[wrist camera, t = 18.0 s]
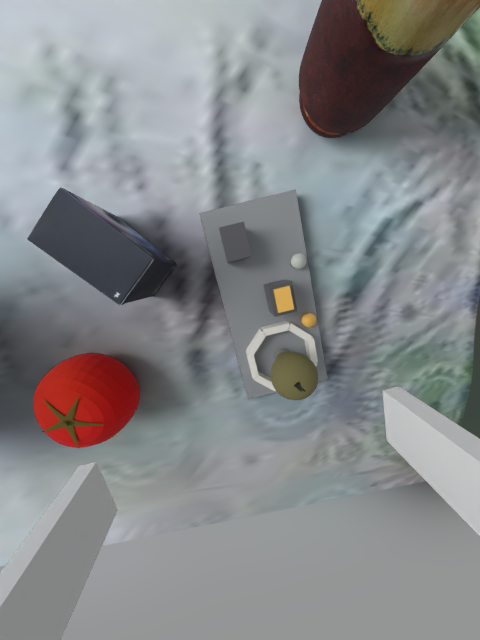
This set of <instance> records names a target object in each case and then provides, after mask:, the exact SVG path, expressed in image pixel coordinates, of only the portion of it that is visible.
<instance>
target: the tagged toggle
mask: <svg viewBox="0 0 480 640" xmlns="http://www.w3.org/2000/svg"><path fill="white" fill-rule="evenodd" d="M264 289H265V294H266V299H267V303H268V308H269V312H270V313H271V314H272V315H273V316H274V317H277V316H281V315H285V314H289V313H293V312H297V306H296V300H295V295H294V290H293V284H292V281H291V280H280V281H276V282H272V283H268V284H264Z"/></svg>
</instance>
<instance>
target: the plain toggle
mask: <svg viewBox="0 0 480 640" xmlns="http://www.w3.org/2000/svg"><path fill="white" fill-rule="evenodd" d="M219 231H220V235H221V239H222V243H223V247H224V251H225V256H226V260H227V263H231V262H235V261H239V260H243V259H247V258H250V257H251V256H252V255H251V251H250V246H249V242H248V237H247V233H246V228H245V224H244V221H243V222H239V223H235V224H231V225H227V226H223V227H219Z"/></svg>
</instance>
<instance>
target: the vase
mask: <svg viewBox="0 0 480 640" xmlns="http://www.w3.org/2000/svg"><path fill="white" fill-rule="evenodd" d="M479 8H480V0H322V2H321V4H320V7H319V10H318V13H317V16H316V19H315V22H314V25H313V28H312V31H311V34H310V36H309V39H308V43H307V46H306V49H305V52H304V55H303V59H302V62H301V66H300V72H299V90H300V95H299V102H300V109H301V113H302V116H303V118H304V120H305V122H306V124H307V125H308V126H309V127H310V129H311V130H313V131H314V132H315V133H317V134H318V135H320V136H323V137H328V138H335V137H340V136H342V135H345V134H347V133H349V132H353V131H356V130H358V129H360V128H362V127H363V126H365V125H366V124H367V123H369V122H370V121H371V120H372V119H373V118H374V117H375V116H376V115H377V114H378V113H379V112H380V111H381V110H382V109H383V108H384V107H385V106H386V105H387V104H388V103H389V102H390V101H391V100H392V99H393V98H394V97H395V96H396V95H397V93H398V92H399V91H400V90H401V89H402V88H403V87H404V86H405V85H406V84H407V83H408V82H409V81H410V80H411V79H412V78H413V77H414V76H415V75H416V74H417V73H418V72H419V71H420V69H421V68H422V67H423V66H424V65H425V64H426V63H427V62H428V61H429V60H430V59H431V58H432V57H433V56H434V55H435V54H436V53H437V52H438V51H439V50H440V49H441V48H442V46H443V45H444V44H445V43H446V42H447V41H448V40H449V39H450V38H451V37H452V36H453V35H454V34H455V33H456V32H457V31H458V30H459V29H460V28H461V27H462V25H463V24H464V23H465V22H466V21H467V20H468V19H469V18H470V17H471V16H472V15H473V14H474V13H475V12H476V11H477V10H478V9H479Z"/></svg>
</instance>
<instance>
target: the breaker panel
mask: <svg viewBox="0 0 480 640" xmlns="http://www.w3.org/2000/svg"><path fill="white" fill-rule="evenodd" d="M199 214H200V218H201V222H202V226H203V229H204V233H205V237H206V241H207V245H208V248H209V252H210V256H211V260H212V264H213V267H214V271H215V275H216V279H217V283H218V287H219V290H220V294H221V298H222V302H223V306H224V309H225V313H226V317H227V321H228V325H229V329H230V332H231V336H232V340H233V344H234V348H235V351H236V355H237V359H238V363H239V367H240V370H241V374H242V378H243V382H244V386H245V390H246V393H247V397H248V399H251V398H255V397H259V396H263V395H267V394H271V393H275V392H277V391H276V390H275V388H274V387H273V385H272V382H271V377H270V372H271V367H272V365H273V363H274V361H275V360H274V352H275V351H276V350H277V349H280V348H285V349H287V350H288V351H289V352H298V353H301V354H303V355H305V356H307V357H308V358H309V359H310V360H311V361H312V362H313V363H314V365H315V367H316V369H317V372H318V382H319V381H323V380H328V379H327V373H326V367H325V361H324V355H323V349H322V343H321V337H320V331H319V325H318V319H317V313H316V307H315V301H314V295H313V289H312V283H311V277H310V271H309V265H308V260H307V254H306V248H305V242H304V236H303V230H302V224H301V218H300V212H299V206H298V200H297V194H296V190H292V191H288V192H284V193H280V194H276V195H272V196H268V197H264V198H259V199H255V200H251V201H247V202H243V203H239V204H235V205H231V206H227V207H223V208H219V209H215V210H211V211H207V212H203V213H199ZM243 221H244V224H245V228H246V233H247V237H248V242H249V246H250V251H251V255H252V256H251V257H250V258H247V259H243V260H239V261H235V262H231V263H227V260H226V256H225V251H224V247H223V243H222V239H221V235H220V231H219V227H223V226H227V225H231V224H235V223H239V222H243ZM280 280H291V281H292V284H293V290H294V295H295V300H296V306H297V312H293V313H289V314H285V315H281V316H277V317H274V316H273V315H272V314H271V313H270V312H269V308H268V303H267V299H266V294H265V289H264V284H268V283H272V282H276V281H280Z"/></svg>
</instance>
